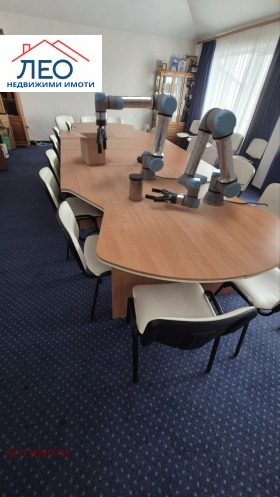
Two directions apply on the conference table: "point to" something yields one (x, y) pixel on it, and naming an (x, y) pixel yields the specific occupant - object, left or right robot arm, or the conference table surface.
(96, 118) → the left robot arm
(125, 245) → the conference table surface
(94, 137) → the box
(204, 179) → the book
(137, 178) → the lid
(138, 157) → the laser sight
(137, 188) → the jar
